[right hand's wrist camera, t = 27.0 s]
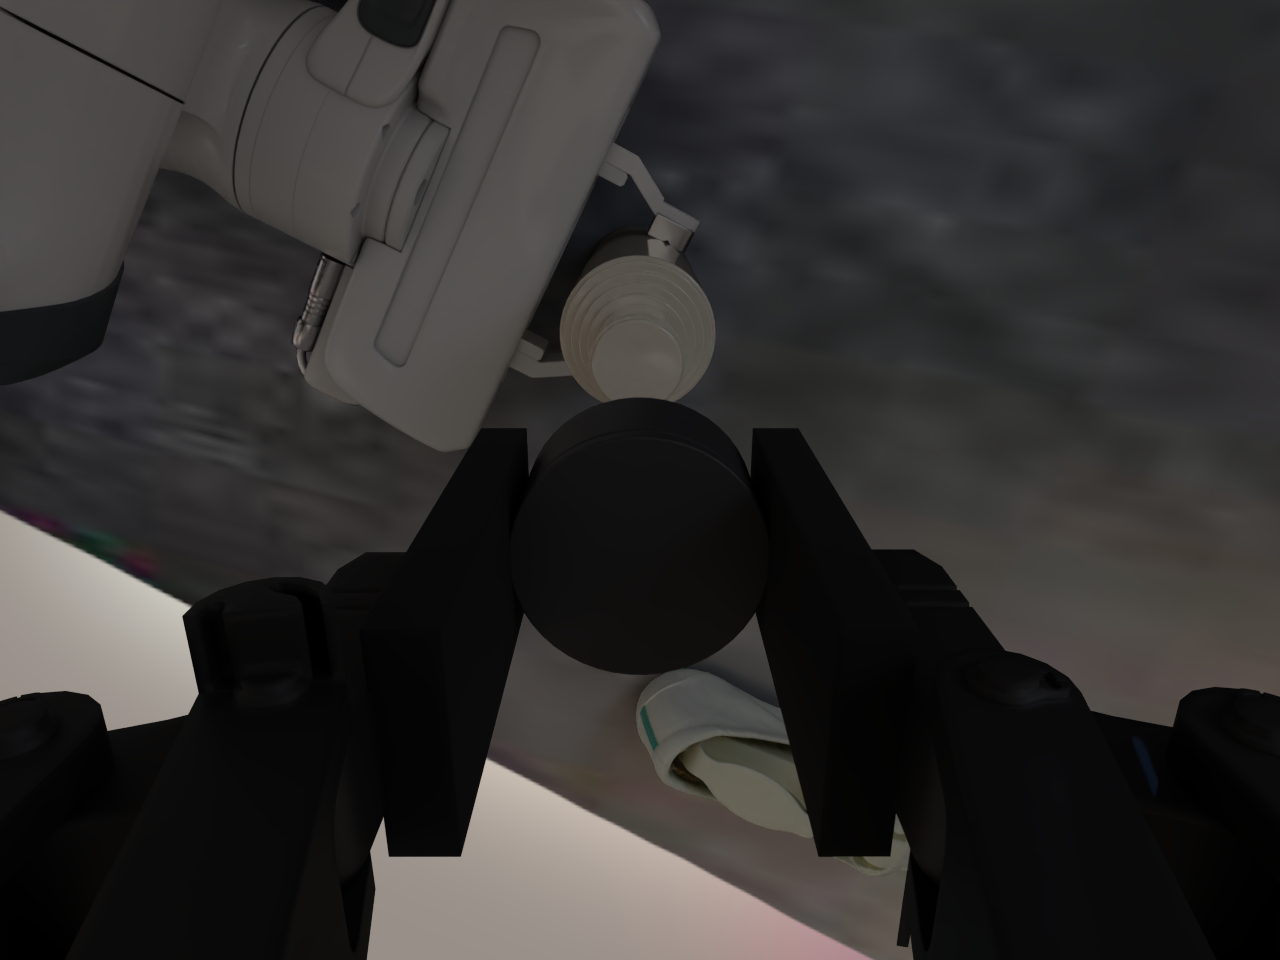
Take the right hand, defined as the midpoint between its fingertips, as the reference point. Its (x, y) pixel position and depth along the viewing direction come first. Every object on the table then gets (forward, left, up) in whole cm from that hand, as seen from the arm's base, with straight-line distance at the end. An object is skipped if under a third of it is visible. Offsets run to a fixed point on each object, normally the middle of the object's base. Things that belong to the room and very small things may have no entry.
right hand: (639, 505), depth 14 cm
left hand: (0, -1, -24) cm, 24 cm away
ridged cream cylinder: (0, 0, -31) cm, 31 cm away
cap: (0, 0, +2) cm, 2 cm away
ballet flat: (-23, -21, -31) cm, 44 cm away
